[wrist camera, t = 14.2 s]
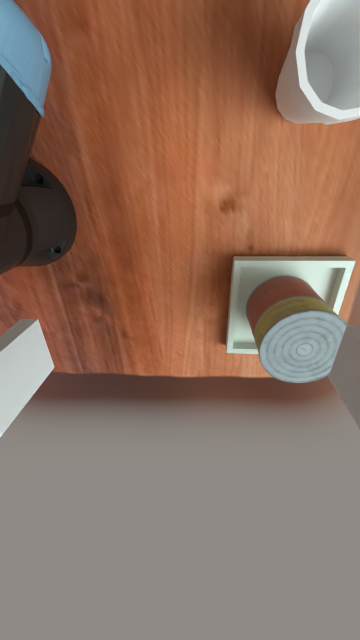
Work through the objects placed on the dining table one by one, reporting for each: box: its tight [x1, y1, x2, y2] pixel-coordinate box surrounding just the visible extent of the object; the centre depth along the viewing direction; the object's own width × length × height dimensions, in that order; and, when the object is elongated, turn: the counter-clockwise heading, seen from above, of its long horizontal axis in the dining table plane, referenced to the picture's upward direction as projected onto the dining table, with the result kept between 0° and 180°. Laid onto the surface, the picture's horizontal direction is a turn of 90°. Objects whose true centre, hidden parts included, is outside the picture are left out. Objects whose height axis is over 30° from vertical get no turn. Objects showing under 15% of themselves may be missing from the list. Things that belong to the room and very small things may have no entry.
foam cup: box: [275, 0, 360, 125], centre depth 24 cm, size 10×9×13 cm
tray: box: [226, 256, 355, 354], centre depth 42 cm, size 17×17×2 cm
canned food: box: [246, 275, 348, 383], centre depth 37 cm, size 11×11×12 cm
